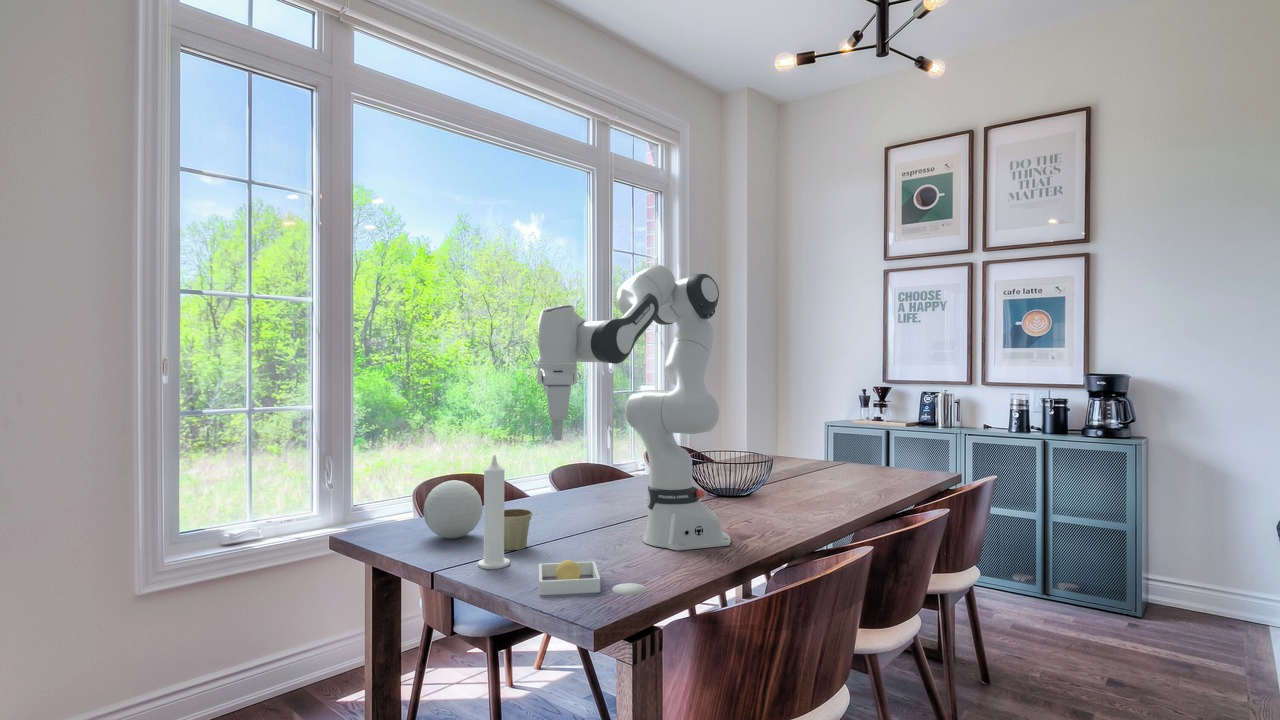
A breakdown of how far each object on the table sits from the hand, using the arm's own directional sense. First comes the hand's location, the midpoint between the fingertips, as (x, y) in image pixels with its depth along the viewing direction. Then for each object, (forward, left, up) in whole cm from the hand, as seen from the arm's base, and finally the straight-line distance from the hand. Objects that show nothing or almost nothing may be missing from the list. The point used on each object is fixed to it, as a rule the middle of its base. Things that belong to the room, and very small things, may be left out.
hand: (556, 437), depth 150 cm
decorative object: (+26, -30, -29) cm, 49 cm away
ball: (-2, +13, -29) cm, 32 cm away
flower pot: (+10, -18, -29) cm, 36 cm away
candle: (+14, -4, -29) cm, 33 cm away
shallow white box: (-2, +13, -29) cm, 32 cm away
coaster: (-14, +18, -29) cm, 37 cm away
